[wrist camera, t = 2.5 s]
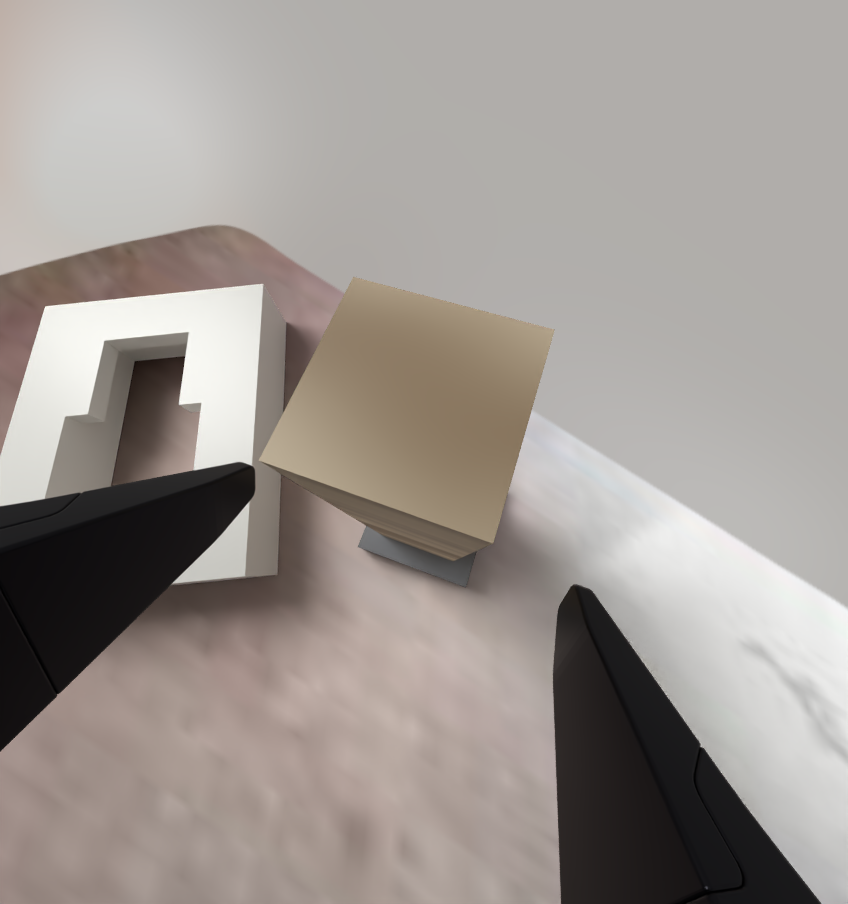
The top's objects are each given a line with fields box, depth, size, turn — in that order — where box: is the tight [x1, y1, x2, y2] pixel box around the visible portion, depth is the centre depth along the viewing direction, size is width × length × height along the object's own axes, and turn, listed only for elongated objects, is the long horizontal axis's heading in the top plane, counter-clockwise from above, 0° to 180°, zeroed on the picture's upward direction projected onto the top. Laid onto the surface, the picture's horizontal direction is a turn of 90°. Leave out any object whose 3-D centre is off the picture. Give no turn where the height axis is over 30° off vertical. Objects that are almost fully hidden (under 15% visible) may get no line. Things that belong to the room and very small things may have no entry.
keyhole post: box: [259, 277, 554, 587], centre depth 13 cm, size 6×6×15 cm
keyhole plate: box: [0, 284, 286, 586], centre depth 21 cm, size 17×14×4 cm
